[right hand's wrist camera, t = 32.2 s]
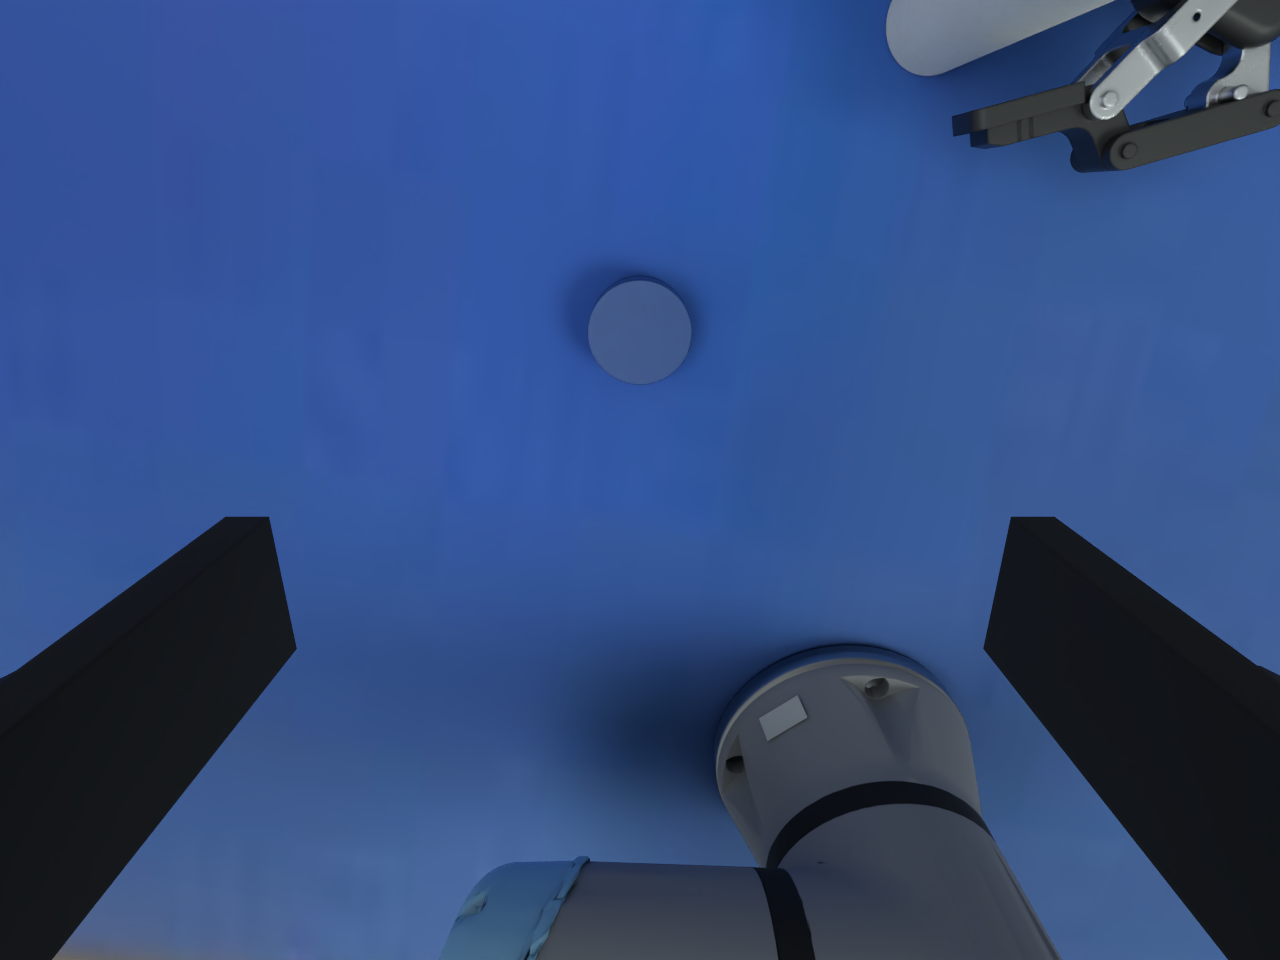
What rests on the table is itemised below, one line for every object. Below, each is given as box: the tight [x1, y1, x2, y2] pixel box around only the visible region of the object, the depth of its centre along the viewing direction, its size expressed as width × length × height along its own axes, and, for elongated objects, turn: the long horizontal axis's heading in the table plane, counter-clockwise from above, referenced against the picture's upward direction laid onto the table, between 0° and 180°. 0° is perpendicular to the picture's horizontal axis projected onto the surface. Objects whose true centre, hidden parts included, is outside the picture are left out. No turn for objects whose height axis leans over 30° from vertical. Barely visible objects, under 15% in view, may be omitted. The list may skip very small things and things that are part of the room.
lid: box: [588, 276, 692, 385], centre depth 33 cm, size 5×5×2 cm
